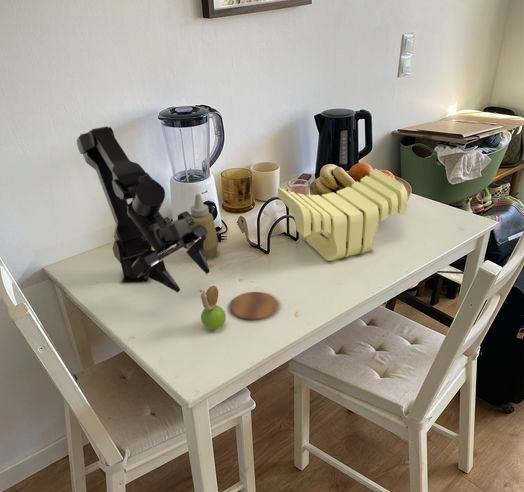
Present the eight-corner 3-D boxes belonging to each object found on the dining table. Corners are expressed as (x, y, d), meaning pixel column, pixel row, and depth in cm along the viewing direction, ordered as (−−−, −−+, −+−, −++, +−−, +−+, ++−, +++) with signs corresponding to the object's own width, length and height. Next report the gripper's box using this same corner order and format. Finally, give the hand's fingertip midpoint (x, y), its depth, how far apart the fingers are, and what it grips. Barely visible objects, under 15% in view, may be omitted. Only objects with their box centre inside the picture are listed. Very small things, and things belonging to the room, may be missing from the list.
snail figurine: (196, 334, 114) (189, 288, 108) (209, 318, 119) (203, 273, 113) (218, 339, 113) (212, 293, 106) (230, 322, 118) (226, 277, 111)
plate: (229, 321, 118) (229, 319, 118) (231, 294, 127) (231, 292, 127) (277, 319, 118) (277, 317, 117) (276, 293, 127) (276, 291, 127)
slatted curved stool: (303, 272, 134) (304, 209, 124) (279, 246, 147) (277, 187, 137) (401, 248, 143) (409, 187, 133) (370, 225, 155) (375, 168, 145)
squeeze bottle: (190, 249, 147) (182, 189, 137) (219, 247, 148) (213, 187, 138) (190, 263, 141) (181, 201, 131) (219, 261, 141) (213, 199, 131)
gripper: (130, 221, 100) (178, 286, 100) (197, 189, 112) (240, 248, 112) (112, 246, 108) (156, 307, 108) (176, 215, 120) (216, 269, 120)
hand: (194, 281), depth 112 cm, fingers open, 9 cm apart
